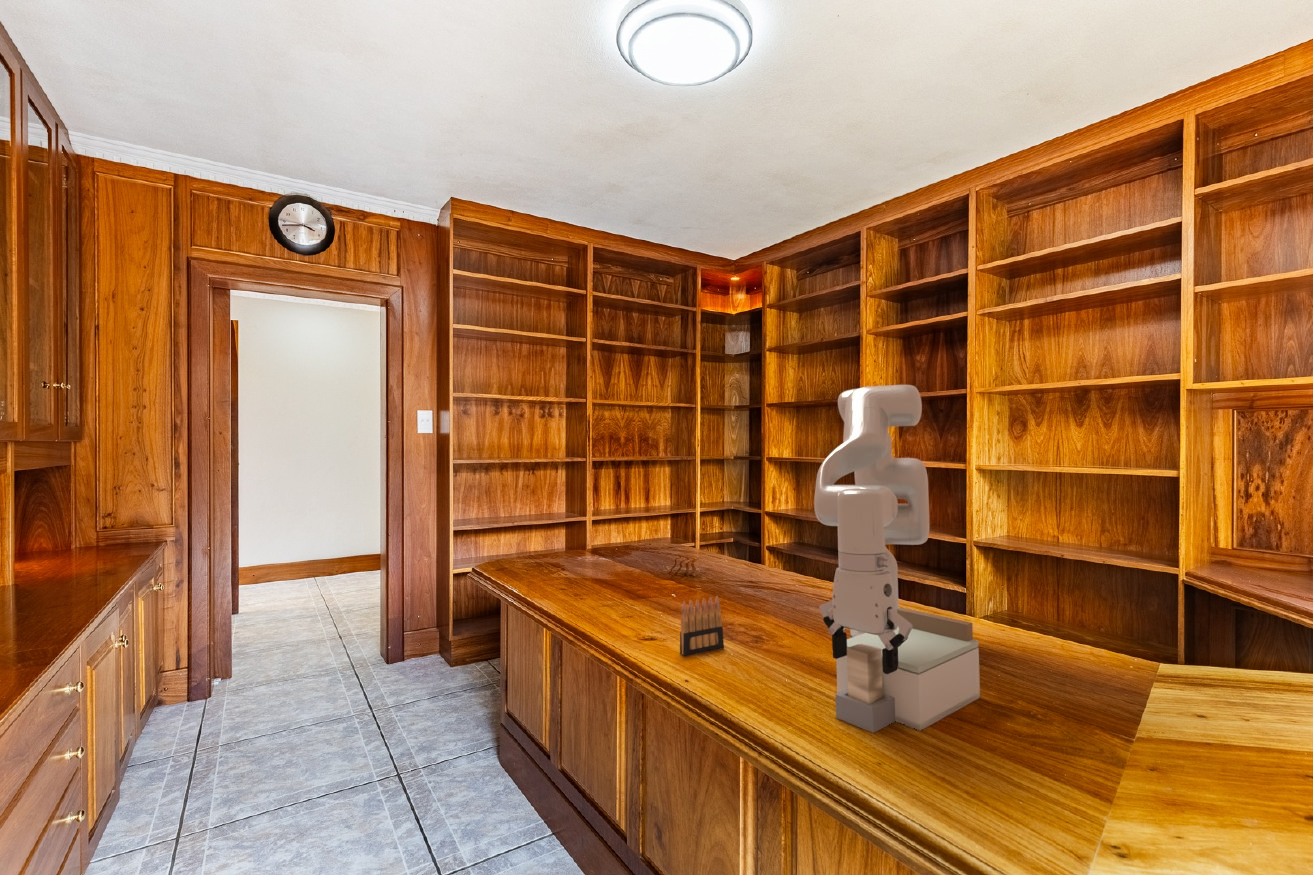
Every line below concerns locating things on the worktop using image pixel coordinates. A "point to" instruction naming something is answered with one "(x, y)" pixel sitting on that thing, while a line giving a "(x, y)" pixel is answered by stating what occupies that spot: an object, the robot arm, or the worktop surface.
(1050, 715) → the worktop surface
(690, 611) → the ammunition clip
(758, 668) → the worktop surface
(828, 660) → the worktop surface
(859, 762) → the worktop surface
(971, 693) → the toolbox
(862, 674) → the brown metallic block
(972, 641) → the toolbox lid
